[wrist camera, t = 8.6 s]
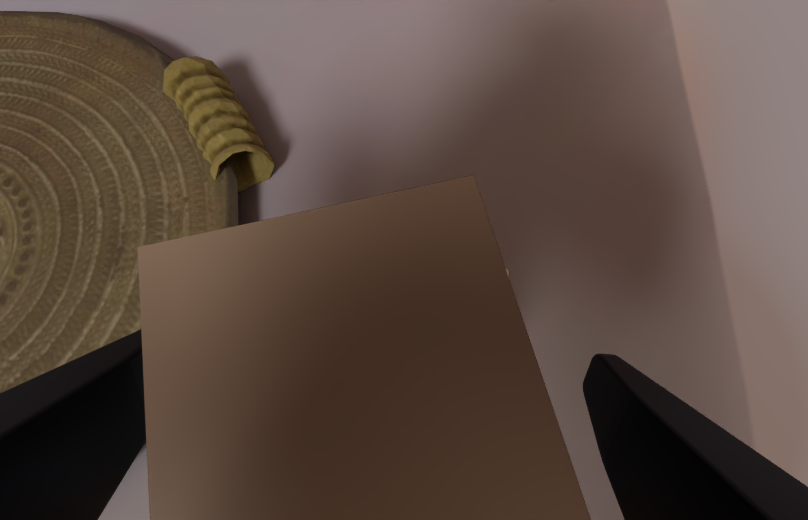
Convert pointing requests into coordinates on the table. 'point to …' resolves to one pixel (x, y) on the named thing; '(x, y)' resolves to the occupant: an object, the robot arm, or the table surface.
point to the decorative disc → (102, 178)
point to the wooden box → (347, 370)
